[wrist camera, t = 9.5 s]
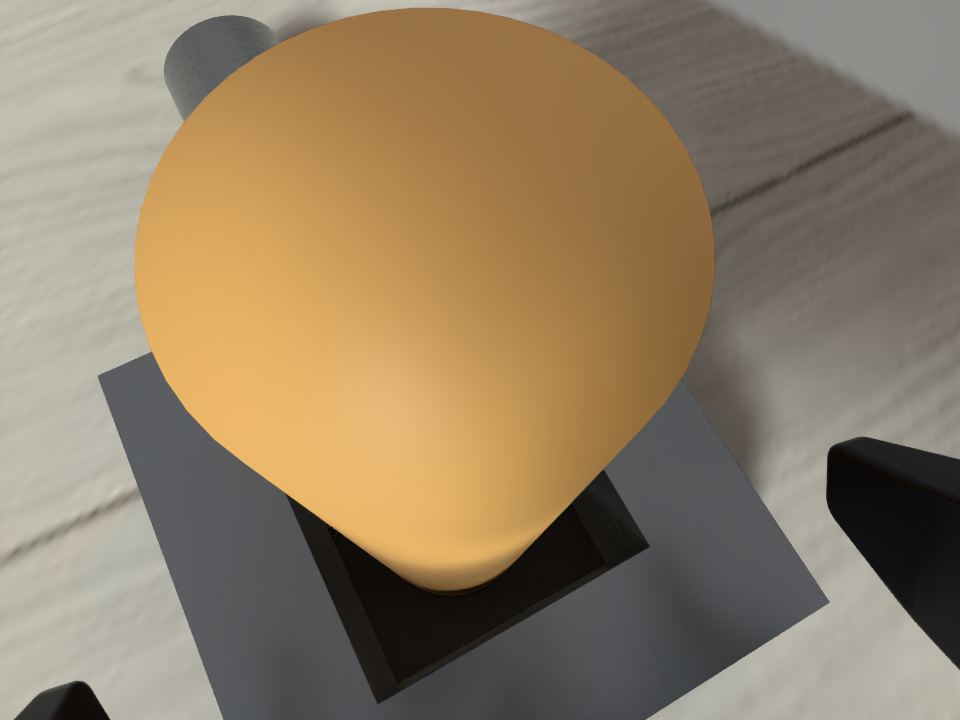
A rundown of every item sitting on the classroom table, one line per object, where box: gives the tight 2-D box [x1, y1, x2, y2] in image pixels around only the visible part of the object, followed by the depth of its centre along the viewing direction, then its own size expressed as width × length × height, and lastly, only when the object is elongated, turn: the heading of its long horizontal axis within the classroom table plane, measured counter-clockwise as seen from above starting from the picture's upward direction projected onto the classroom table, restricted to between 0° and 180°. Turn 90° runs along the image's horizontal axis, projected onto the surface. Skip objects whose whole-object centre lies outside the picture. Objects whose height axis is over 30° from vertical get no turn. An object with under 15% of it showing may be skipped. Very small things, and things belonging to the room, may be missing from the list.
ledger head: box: [98, 15, 830, 720], centre depth 16 cm, size 18×10×4 cm, turn 28°
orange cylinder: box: [135, 8, 715, 595], centre depth 10 cm, size 4×4×13 cm
